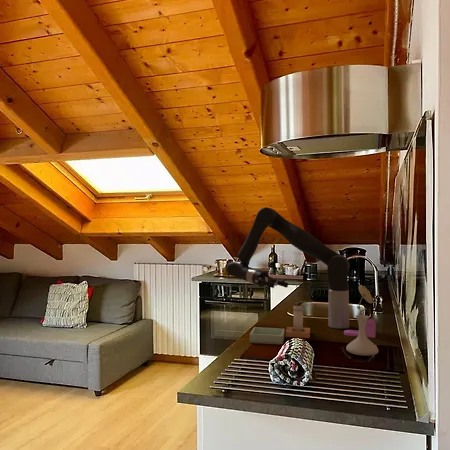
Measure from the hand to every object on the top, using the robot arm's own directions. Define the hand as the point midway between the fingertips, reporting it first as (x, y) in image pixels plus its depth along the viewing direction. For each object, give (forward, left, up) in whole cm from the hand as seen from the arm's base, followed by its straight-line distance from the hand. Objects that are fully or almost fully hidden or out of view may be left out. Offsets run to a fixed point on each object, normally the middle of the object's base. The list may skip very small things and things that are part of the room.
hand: (280, 285), depth 206 cm
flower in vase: (-32, +33, -20) cm, 50 cm away
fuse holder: (-8, +8, -20) cm, 23 cm away
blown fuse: (-8, +8, -20) cm, 23 cm away
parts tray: (+4, +20, -20) cm, 29 cm away
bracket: (-34, +3, -20) cm, 40 cm away
